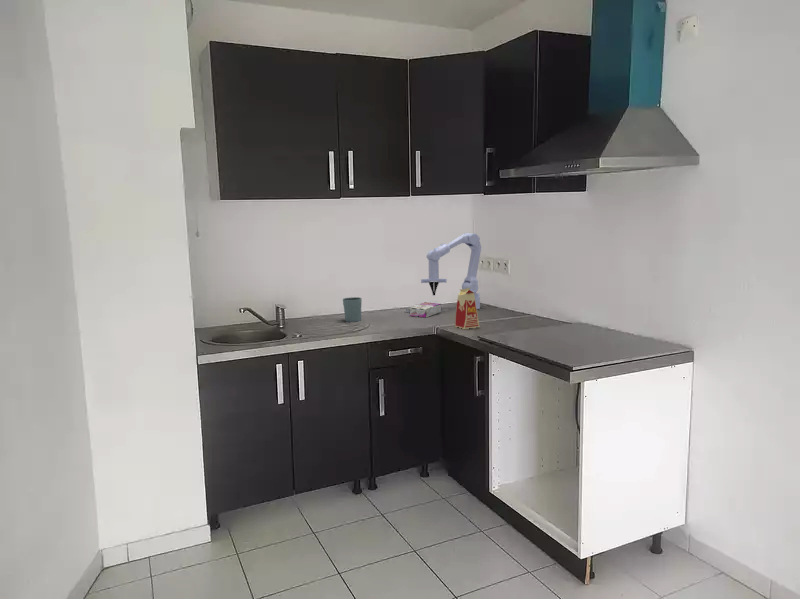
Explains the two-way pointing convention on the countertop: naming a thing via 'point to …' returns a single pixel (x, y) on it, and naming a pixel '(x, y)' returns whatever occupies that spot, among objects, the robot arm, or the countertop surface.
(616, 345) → the countertop surface
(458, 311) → the milk carton
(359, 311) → the teal cup
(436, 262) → the robot arm
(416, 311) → the candy bar box
